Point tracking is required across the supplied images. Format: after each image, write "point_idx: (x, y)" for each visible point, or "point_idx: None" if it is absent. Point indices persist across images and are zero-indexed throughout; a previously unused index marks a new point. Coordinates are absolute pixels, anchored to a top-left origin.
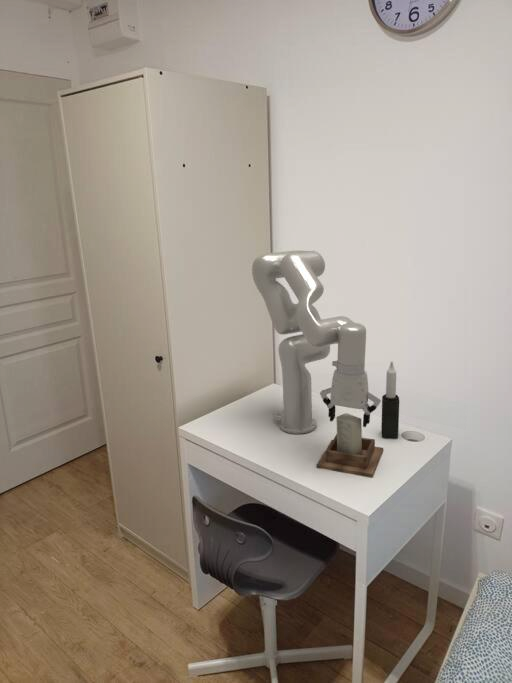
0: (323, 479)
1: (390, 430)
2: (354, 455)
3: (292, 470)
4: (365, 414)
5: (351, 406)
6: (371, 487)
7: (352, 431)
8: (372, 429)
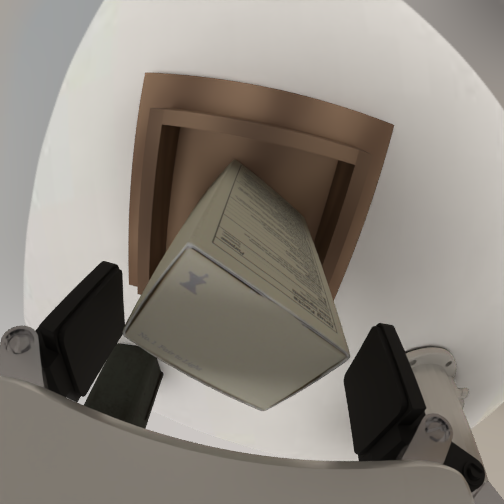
0: (354, 35)
1: (121, 365)
2: (213, 118)
3: (465, 109)
4: (46, 337)
5: (135, 451)
6: (157, 10)
7: (203, 211)
8: (190, 388)
